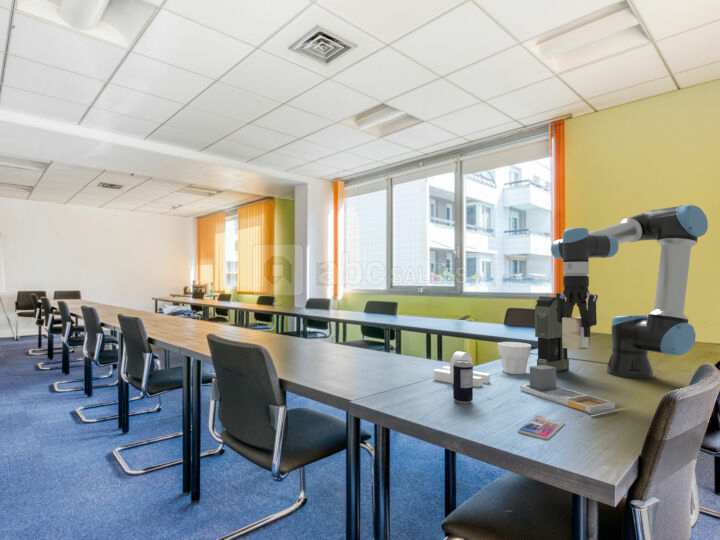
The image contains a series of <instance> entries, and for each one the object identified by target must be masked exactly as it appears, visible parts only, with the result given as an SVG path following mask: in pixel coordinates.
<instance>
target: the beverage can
mask: <svg viewBox="0 0 720 540" xmlns="http://www.w3.org/2000/svg"><path fill="white" fill-rule="evenodd" d="M471 363H472V364H471ZM473 371H474V367H473V361H472V362H471V361H467V360H456V361H455V363H454V365H453V384H452V385H453V387H452V388H453V389H452V390H453V392H452V394H453V395H452V396H453V397H452V398H453V399H454V401H455V402H456V403H458V404H462V403H463V404H462V405H464V404H465V405H467V403H468V404H470V403H471V402H472V401H474V399H473V398H474V389H473V388H474V386H473Z"/></svg>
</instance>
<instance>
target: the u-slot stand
mask: <svg viewBox="0 0 720 540" xmlns="http://www.w3.org/2000/svg"><path fill="white" fill-rule="evenodd" d="M456 360H467V361H471V362H472V363H471V364H472V365H473V359H472V355H471V354H470V353H469V352H464V351H460V350H459V351H458V350H457V351H455V352H454V353H453V355H452V357H451V359H450V363H449V366H447V365H445V366H443V367H441V368H435V369H433V380H434V381H439V382H444V383H449V384H452V385H453V365H454V363H455V361H456ZM490 383H491V374H490V373H487V372H481V371H475V370H473V387H476V388H479V387H480V388H481V387H482V386H483V384H490Z"/></svg>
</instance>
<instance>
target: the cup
mask: <svg viewBox="0 0 720 540" xmlns="http://www.w3.org/2000/svg"><path fill="white" fill-rule="evenodd" d="M497 348H498V354H499V356H500V359H501V366H502V372H503V371H504V372H503V373H505V372H506V373H505V374H508V373H510V374H509V375H515V374H522V375H525V374H526V373H527V367H528V362H529V358H530V356H531V351H532V350H531V349H532V345H531V344H530V343H525V342H520V341H519V342H518V341H502V342H501V341H500V342H498V343H497Z"/></svg>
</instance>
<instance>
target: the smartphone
mask: <svg viewBox="0 0 720 540" xmlns="http://www.w3.org/2000/svg"><path fill="white" fill-rule="evenodd" d="M565 424H566V423H565V421H563V420H560V419H559V420H558V419H557V420H554V421H552V420H550V419H547V418H545V417H543V415H535V416H534V417H532V418H531V419H530V420H528V422H525V424H523V425H522V426H521V427H519V428H517V434H521V435H524V436H528V437H532V438H536V439H538V440H539V439H540V440H541V441H542V440H544V441H549V440H551V439H552V438H553V437H554V436H555V435H556V433H558V432H559V431H560V430H561V429H562V428H563V427H564V426H565Z"/></svg>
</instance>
